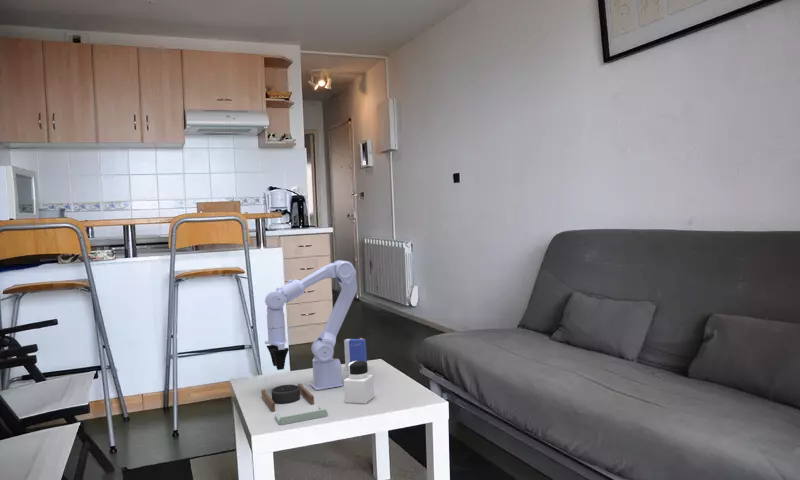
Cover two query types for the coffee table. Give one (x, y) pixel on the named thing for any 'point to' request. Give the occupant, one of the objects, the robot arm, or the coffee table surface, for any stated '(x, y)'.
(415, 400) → the coffee table surface
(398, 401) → the coffee table surface
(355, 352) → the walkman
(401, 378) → the coffee table surface
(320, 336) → the robot arm
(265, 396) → the chute
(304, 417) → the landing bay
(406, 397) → the coffee table surface
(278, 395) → the smart speaker
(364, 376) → the medicine bottle
